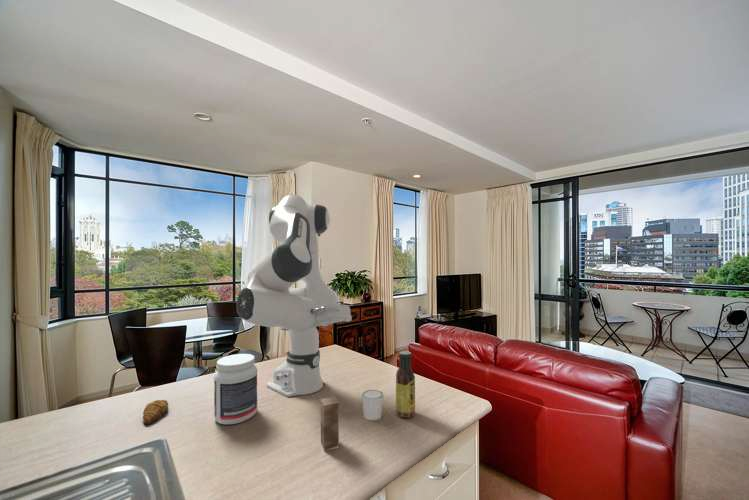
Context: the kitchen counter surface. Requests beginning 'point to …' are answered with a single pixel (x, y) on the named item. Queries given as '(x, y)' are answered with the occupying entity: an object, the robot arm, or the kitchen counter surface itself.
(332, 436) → the walnut block
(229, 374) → the supplement tub
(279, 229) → the robot arm
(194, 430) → the kitchen counter surface
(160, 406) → the croissant
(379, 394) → the white tapered cylinder
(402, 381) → the sauce bottle
